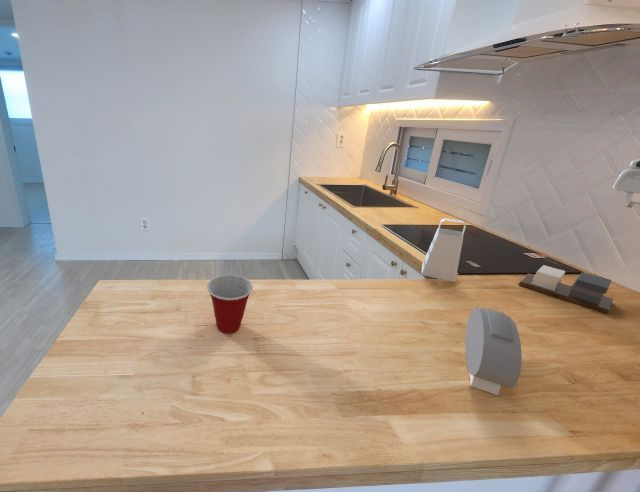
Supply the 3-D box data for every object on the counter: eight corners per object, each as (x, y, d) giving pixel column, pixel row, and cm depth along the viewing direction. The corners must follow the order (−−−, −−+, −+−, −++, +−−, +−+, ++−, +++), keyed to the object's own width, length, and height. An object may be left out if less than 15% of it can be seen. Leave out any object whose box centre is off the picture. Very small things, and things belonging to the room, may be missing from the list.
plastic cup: (197, 332, 81) (198, 288, 76) (218, 311, 90) (220, 270, 86) (238, 346, 77) (241, 300, 72) (256, 322, 86) (259, 281, 82)
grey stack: (602, 296, 109) (611, 279, 107) (599, 305, 103) (608, 288, 100) (572, 287, 114) (580, 271, 112) (567, 295, 108) (575, 278, 106)
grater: (421, 264, 129) (436, 214, 121) (453, 271, 124) (470, 219, 117) (421, 274, 120) (437, 221, 112) (455, 282, 116) (473, 227, 108)
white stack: (559, 283, 116) (563, 275, 115) (554, 291, 110) (558, 282, 109) (537, 276, 120) (540, 268, 119) (530, 283, 115) (534, 275, 113)
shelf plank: (610, 302, 108) (613, 298, 108) (607, 314, 101) (609, 309, 100) (526, 276, 124) (528, 273, 123) (518, 285, 116) (519, 281, 116)
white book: (563, 275, 115) (565, 271, 114) (558, 282, 109) (560, 278, 109) (541, 269, 119) (543, 265, 118) (535, 275, 113) (537, 271, 113)
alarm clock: (505, 408, 64) (531, 354, 59) (468, 395, 67) (489, 342, 62) (490, 344, 83) (509, 299, 78) (461, 336, 86) (478, 292, 81)
